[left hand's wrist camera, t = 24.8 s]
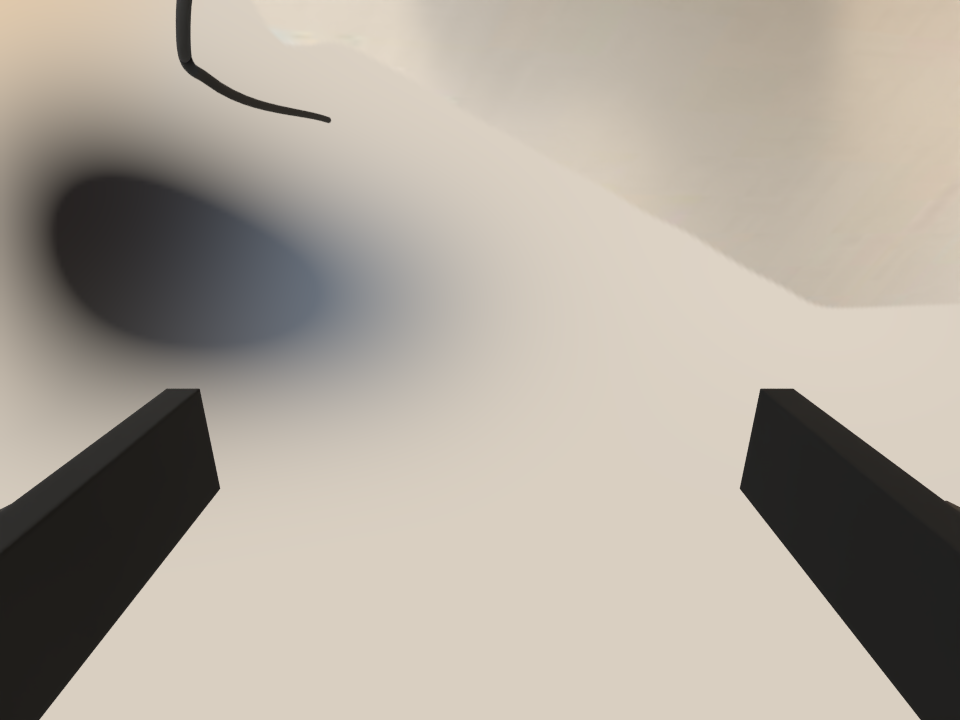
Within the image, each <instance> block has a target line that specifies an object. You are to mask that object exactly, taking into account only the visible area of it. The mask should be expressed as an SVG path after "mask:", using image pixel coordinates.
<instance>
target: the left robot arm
mask: <svg viewBox="0 0 960 720" xmlns="http://www.w3.org/2000/svg"><path fill="white" fill-rule="evenodd" d="M191 5H192V0H177V4H176V42H177V51H178V56H179V60H180V63H181V65H182V67H183V68H184V69H185V71H186V72H187V73H189V74H190V75H191V76H192V77H194V78H196V79H198V80H199V81H201V82H203V83H204V84H206V85H207V86H209V87H210V88H212V89H213V90H215V91H216V92H218V93H220V94H221V95H223V96H225V97H227V98H229V99H231V100H234V101H236V102H239V103H241V104H244V105H247V106H250V107H253V108H257V109H261V110H265V111H269V112H274V113H279V114H285V115H291V116H297V117H303V118H309V119H314V120H319V121H322V122H326V123H330V122H331V118H330V117H327V116H324V115H321V114H317V113H313V112H308V111H303V110H299V109H294V108H289V107H284V106H280V105H275V104H271V103H268V102H264V101H261V100H257V99H255V98H252V97H249V96H246V95H244V94H242V93H240V92H238V91H235V90H233V89H232V88H230V87H228V86H226V85H225V84H223V83H221V82H220V81H219V80H217V79H216V78H214V77H213V76H212V75H210V74H209V73H208V72H206V71H205V70H203V69H202V68H200V67H198V66H197V65H195V63H194V62H193V59H192V56H191V42H190V24H191ZM219 489H220V486H219V481H218V476H217V471H216V466H215V461H214V456H213V452H212V447H211V442H210V437H209V432H208V427H207V423H206V418H205V413H204V408H203V403H202V398H201V394H200V389H166V390H164V391H163V392H162V393H160V394H159V395H158V396H156V397H155V398H154V399H152V400H151V401H150V402H148V403H147V404H146V405H144V406H143V407H142V408H140V409H139V410H138V411H136V412H135V413H134V414H132V415H131V416H129V417H128V418H127V419H125V420H124V421H123V422H121V423H120V424H119V425H117V426H116V427H115V428H113V429H112V430H111V431H109V432H108V433H107V434H105V435H104V436H102V437H101V438H100V439H98V440H97V441H96V442H94V443H93V444H92V445H90V446H89V447H88V448H86V449H85V450H84V451H82V452H81V453H80V454H78V455H77V456H75V457H74V458H73V459H71V460H70V461H69V462H67V463H66V464H65V465H63V466H62V467H61V468H59V469H58V470H57V471H55V472H54V473H53V474H51V475H50V476H48V477H47V478H46V479H44V480H43V481H42V482H40V483H39V484H38V485H36V486H35V487H34V488H32V489H31V490H30V491H28V492H27V493H26V494H24V495H23V496H22V497H20V498H19V499H17V500H16V501H15V502H13V503H12V504H10V505H8V506H6V507H4V508H2V509H0V720H39V719H40V718H41V717H42V716H43V714H44V713H45V712H46V710H47V709H48V708H49V707H50V705H51V704H52V703H53V702H54V700H55V699H56V698H57V696H58V695H59V694H60V693H61V691H62V690H63V689H64V687H65V686H66V685H67V684H68V682H69V681H70V680H71V678H72V677H73V676H74V675H75V673H76V672H77V671H78V670H79V668H80V667H81V666H82V664H83V663H84V662H85V661H86V659H87V658H88V657H89V656H90V654H91V653H92V652H93V650H94V649H95V648H96V647H97V645H98V644H99V643H100V641H101V640H102V639H103V638H104V636H105V635H106V634H107V633H108V631H109V630H110V629H111V627H112V626H113V625H114V624H115V622H116V621H117V620H118V618H119V617H120V616H121V615H122V613H123V612H124V611H125V610H126V608H127V607H128V606H129V604H130V603H131V602H132V600H133V599H134V598H135V597H136V595H137V594H138V593H139V592H140V590H141V589H142V588H143V587H144V585H145V584H146V583H147V581H148V580H149V579H150V578H151V576H152V575H153V574H154V572H155V571H156V570H157V569H158V567H159V566H160V565H161V564H162V562H163V561H164V560H165V558H166V557H167V556H168V555H169V553H170V552H171V551H172V549H173V548H174V547H175V546H176V544H177V543H178V542H179V541H180V539H181V538H182V537H183V535H184V534H185V533H186V532H187V530H188V529H189V528H190V526H191V525H192V524H193V523H194V521H195V520H196V519H197V517H198V516H199V515H200V514H201V512H202V511H203V510H204V509H205V507H206V506H207V505H208V503H209V502H210V501H211V500H212V498H213V497H214V496H215V495H216V493H217V492H218V491H219ZM740 489H741V491H742V492H743V493H744V494H745V496H746V497H747V498H748V500H749V501H750V502H751V503H752V505H753V506H754V507H755V509H756V510H757V511H758V512H759V514H760V515H761V516H762V518H763V519H764V520H765V521H766V523H767V524H768V525H769V526H770V528H771V529H772V530H773V532H774V533H775V534H776V535H777V537H778V538H779V539H780V541H781V542H782V543H783V544H784V546H785V547H786V548H787V549H788V551H789V552H790V553H791V555H792V556H793V557H794V558H795V560H796V561H797V562H798V564H799V565H800V566H801V567H802V569H803V570H804V571H805V572H806V574H807V575H808V576H809V578H810V579H811V580H812V581H813V583H814V584H815V585H816V587H817V588H818V589H819V590H820V592H821V593H822V594H823V595H824V597H825V598H826V599H827V601H828V602H829V603H830V604H831V606H832V607H833V608H834V610H835V611H836V612H837V613H838V615H839V616H840V617H841V618H842V620H843V621H844V622H845V624H846V625H847V626H848V627H849V629H850V630H851V631H852V633H853V634H854V635H855V636H856V638H857V639H858V640H859V641H860V643H861V644H862V645H863V647H864V648H865V649H866V650H867V652H868V653H869V654H870V655H871V657H872V658H873V659H874V661H875V662H876V663H877V664H878V666H879V667H880V668H881V670H882V671H883V672H884V673H885V675H886V676H887V677H888V679H889V680H890V681H891V682H892V684H893V685H894V686H895V687H896V689H897V690H898V691H899V693H900V694H901V695H902V696H903V698H904V699H905V700H906V702H907V703H908V704H909V705H910V707H911V708H912V709H913V710H914V712H915V713H916V714H917V716H918V717H919V718H920V719H921V720H960V507H958V506H956V505H954V504H952V503H950V502H948V501H944V500H942V499H941V498H940V497H938V496H937V495H936V494H934V493H933V492H932V491H930V490H929V489H928V488H926V487H925V486H924V485H922V484H921V483H920V482H918V481H917V480H916V479H914V478H913V477H911V476H910V475H909V474H907V473H906V472H905V471H903V470H902V469H901V468H899V467H898V466H897V465H895V464H894V463H893V462H891V461H890V460H889V459H887V458H886V457H885V456H883V455H882V454H880V453H879V452H878V451H876V450H875V449H874V448H872V447H871V446H870V445H868V444H867V443H866V442H864V441H863V440H862V439H860V438H859V437H858V436H856V435H855V434H853V433H852V432H851V431H849V430H848V429H847V428H845V427H844V426H843V425H841V424H840V423H839V422H837V421H836V420H835V419H833V418H832V417H831V416H829V415H828V414H827V413H825V412H824V411H822V410H821V409H820V408H818V407H817V406H816V405H814V404H813V403H812V402H810V401H809V400H808V399H806V398H805V397H804V396H802V395H801V394H799V393H798V392H797V391H796V390H794V389H760V393H759V398H758V403H757V408H756V413H755V418H754V422H753V427H752V432H751V437H750V442H749V447H748V452H747V457H746V461H745V466H744V471H743V476H742V481H741V486H740Z"/></svg>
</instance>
